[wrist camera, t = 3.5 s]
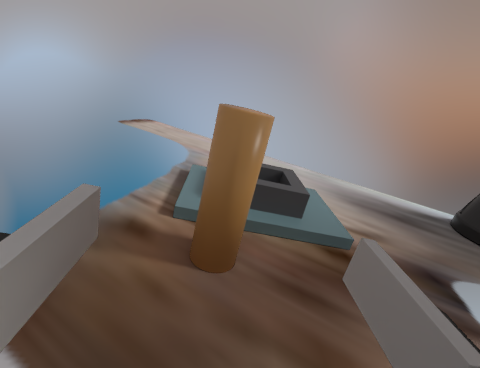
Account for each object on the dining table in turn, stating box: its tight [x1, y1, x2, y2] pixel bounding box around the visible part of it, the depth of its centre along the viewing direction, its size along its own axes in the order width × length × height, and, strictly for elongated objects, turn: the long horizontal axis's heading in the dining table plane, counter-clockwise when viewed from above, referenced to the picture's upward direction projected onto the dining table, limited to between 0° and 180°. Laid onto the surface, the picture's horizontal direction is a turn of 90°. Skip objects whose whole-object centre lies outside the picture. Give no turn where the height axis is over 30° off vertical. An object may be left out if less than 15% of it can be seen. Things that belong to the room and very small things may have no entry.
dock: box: [173, 164, 354, 250], centre depth 38 cm, size 22×16×5 cm
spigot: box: [190, 104, 274, 273], centre depth 23 cm, size 4×4×14 cm
